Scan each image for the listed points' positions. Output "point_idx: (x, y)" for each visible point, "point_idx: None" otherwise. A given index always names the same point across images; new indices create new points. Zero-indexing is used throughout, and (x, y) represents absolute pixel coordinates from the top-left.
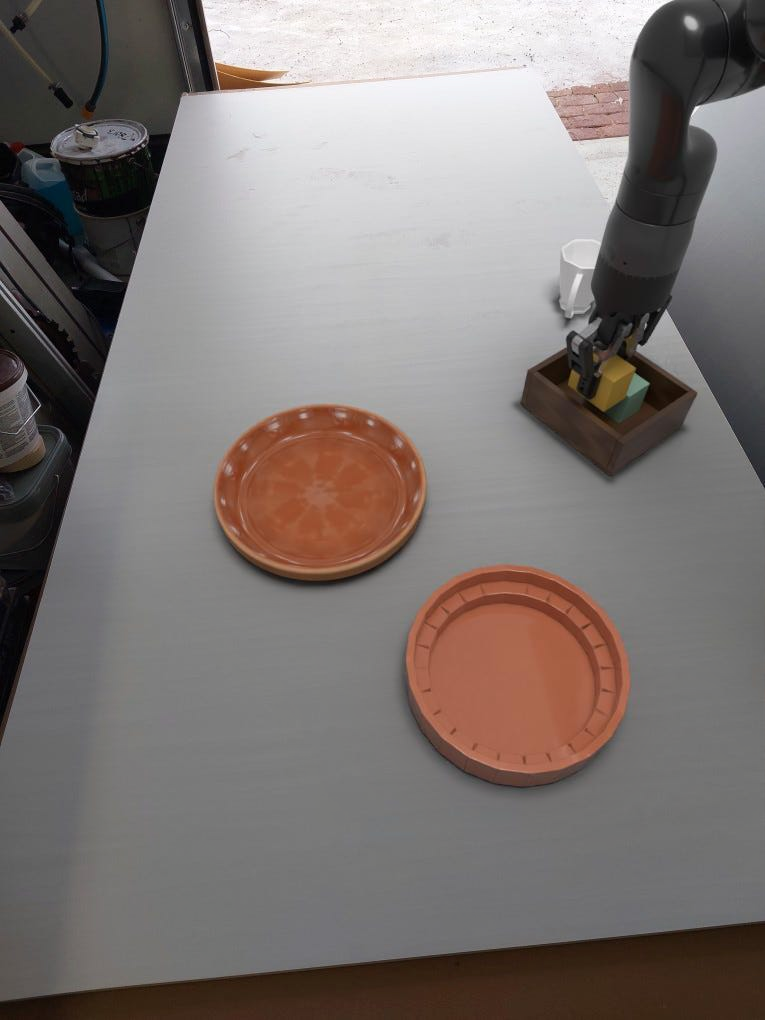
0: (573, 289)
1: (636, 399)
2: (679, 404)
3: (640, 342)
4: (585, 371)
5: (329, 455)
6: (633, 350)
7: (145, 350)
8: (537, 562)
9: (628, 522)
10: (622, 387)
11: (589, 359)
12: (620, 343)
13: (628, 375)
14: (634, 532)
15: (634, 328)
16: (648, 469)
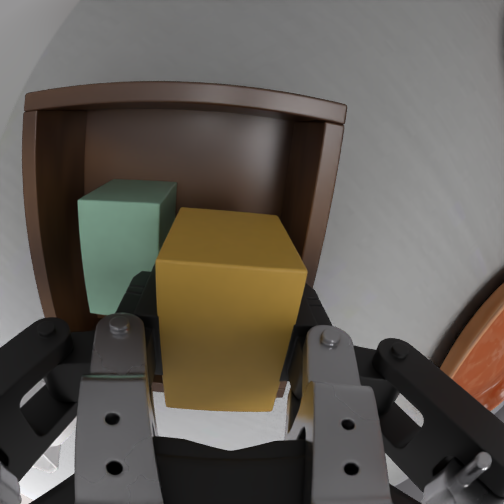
0: (65, 436)
1: (125, 192)
2: (88, 86)
3: (67, 341)
4: (445, 374)
5: (467, 379)
6: (113, 332)
7: (401, 477)
8: (491, 126)
9: (371, 37)
10: (220, 233)
11: (471, 417)
12: (324, 460)
13: (203, 255)
14: (379, 23)
15: (165, 502)
16: (232, 64)
